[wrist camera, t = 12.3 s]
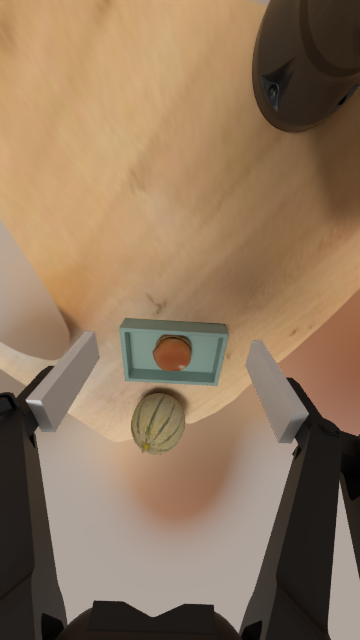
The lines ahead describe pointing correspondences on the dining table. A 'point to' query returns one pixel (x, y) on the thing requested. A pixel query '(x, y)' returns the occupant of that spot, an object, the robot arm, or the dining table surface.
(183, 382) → the teal tray
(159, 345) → the burger
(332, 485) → the robot arm
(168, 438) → the cantaloupe
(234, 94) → the dining table surface
